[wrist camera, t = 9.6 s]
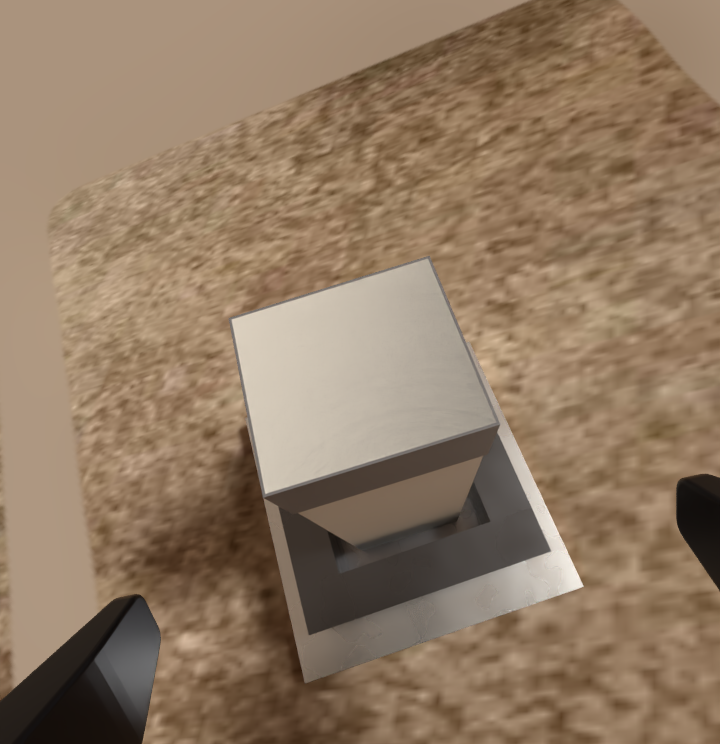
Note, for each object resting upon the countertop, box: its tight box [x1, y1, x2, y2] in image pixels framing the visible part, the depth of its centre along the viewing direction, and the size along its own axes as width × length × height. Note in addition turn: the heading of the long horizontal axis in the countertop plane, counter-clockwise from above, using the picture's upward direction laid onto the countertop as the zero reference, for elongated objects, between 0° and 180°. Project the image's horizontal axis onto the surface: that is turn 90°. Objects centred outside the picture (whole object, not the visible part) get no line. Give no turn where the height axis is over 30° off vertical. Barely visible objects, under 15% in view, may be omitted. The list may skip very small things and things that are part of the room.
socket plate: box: [245, 342, 584, 683], centre depth 20 cm, size 11×11×4 cm
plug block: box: [229, 256, 500, 550], centre depth 15 cm, size 4×4×13 cm
